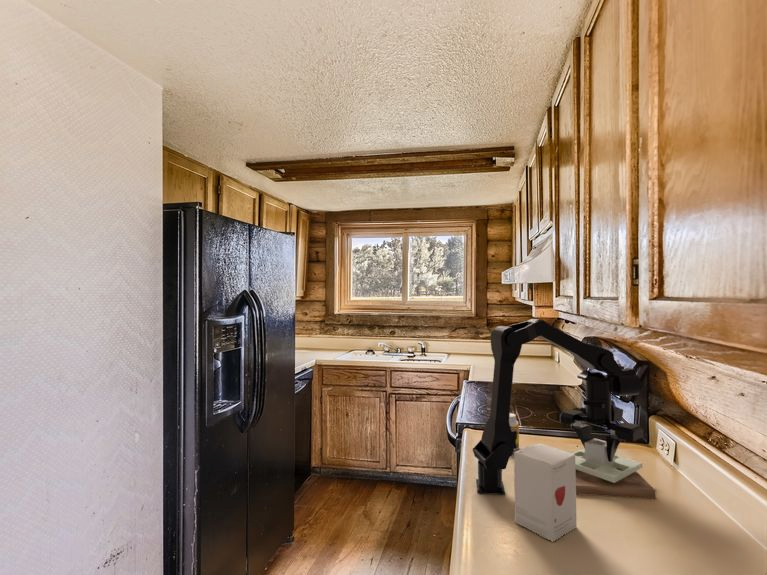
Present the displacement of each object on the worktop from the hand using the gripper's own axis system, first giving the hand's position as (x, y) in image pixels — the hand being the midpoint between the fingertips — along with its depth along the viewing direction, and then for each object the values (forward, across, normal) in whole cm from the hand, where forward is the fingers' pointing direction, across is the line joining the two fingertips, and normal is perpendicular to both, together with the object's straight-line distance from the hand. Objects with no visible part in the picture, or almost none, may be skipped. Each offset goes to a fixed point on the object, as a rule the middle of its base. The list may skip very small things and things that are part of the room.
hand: (599, 457), depth 106 cm
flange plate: (+2, 0, 0) cm, 2 cm away
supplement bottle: (+6, +28, +1) cm, 28 cm away
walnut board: (+5, 0, 0) cm, 5 cm away
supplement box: (+6, -4, +30) cm, 31 cm away
